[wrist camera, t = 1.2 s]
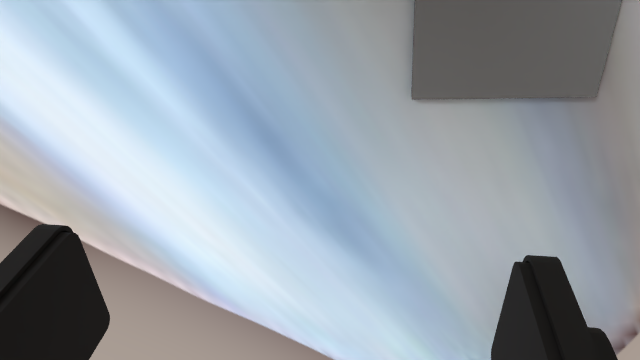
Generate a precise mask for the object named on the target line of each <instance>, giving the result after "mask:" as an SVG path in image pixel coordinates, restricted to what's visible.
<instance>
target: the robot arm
mask: <svg viewBox="0 0 640 360" xmlns="http://www.w3.org/2000/svg"><path fill="white" fill-rule="evenodd" d="M109 321H110V315H109V312H108V309H107V306H106V304H105V302H104V299H103V296H102V294H101V291H100V289H99V286H98V284H97V281H96V279H95V276H94V274H93V271H92V269H91V266H90V264H89V261H88V258H87V256H86V253H85V251H84V249H83V246H82V243H81V241H80V238H79V236H78V235H77V234H76V233H73V231H72V229H71V228H70V227H68V226H63V225H47V224H42V225H38V226H37V227H35V228H34V229H33V230H32V231H31V232H30V233H29V234H28V235H27V236H26V237H25V238H24V239H23V240H22V241H21V242H20V243H19V245H18V246H17V247H16V248H15V249H14V250H13V251H12V252H11V253H10V254H9V255H8V256H7V257H6V258H5V259H4V260H3V261H2V262H1V263H0V360H89V358H90V357H91V355H92V354H93V352H94V350H95V349H96V347H97V345H98V344H99V342H100V340H101V339H102V337H103V336H104V334H105V332H106V331H107V329H108V326H109ZM491 360H618V359H617V357H616V355H615V352H614V350H613V348H612V346H611V343H610V341H609V339H608V338H607V336H606V334H605V333H604V332H603V331H602V330H601V329H598V328H589V327H587V325H586V322H585V320H584V317H583V315H582V312H581V310H580V308H579V305H578V303H577V300H576V298H575V295H574V293H573V291H572V288H571V286H570V283H569V281H568V278H567V276H566V273H565V271H564V269H563V266H562V264H561V262H560V260H559V259H558V258H557V257H547V256H531V255H527V256H525V258H524V260H523V262H515V263H514V265H513V268H512V272H511V276H510V280H509V284H508V287H507V291H506V295H505V299H504V303H503V306H502V310H501V314H500V318H499V322H498V325H497V329H496V333H495V337H494V341H493V344H492V349H491Z"/></svg>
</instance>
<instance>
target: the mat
mask: <svg viewBox="0 0 640 360" xmlns="http://www.w3.org/2000/svg"><path fill="white" fill-rule="evenodd" d="M621 2H622V0H415V12H414V40H413V68H412V95H411V96H412V100H415V99H490V98H565V97H596V96H597V93H598V89H599V85H600V81H601V77H602V74H603V70H604V66H605V62H606V58H607V55H608V51H609V47H610V43H611V39H612V36H613V32H614V28H615V24H616V21H617V17H618V13H619V9H620V5H621Z"/></svg>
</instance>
